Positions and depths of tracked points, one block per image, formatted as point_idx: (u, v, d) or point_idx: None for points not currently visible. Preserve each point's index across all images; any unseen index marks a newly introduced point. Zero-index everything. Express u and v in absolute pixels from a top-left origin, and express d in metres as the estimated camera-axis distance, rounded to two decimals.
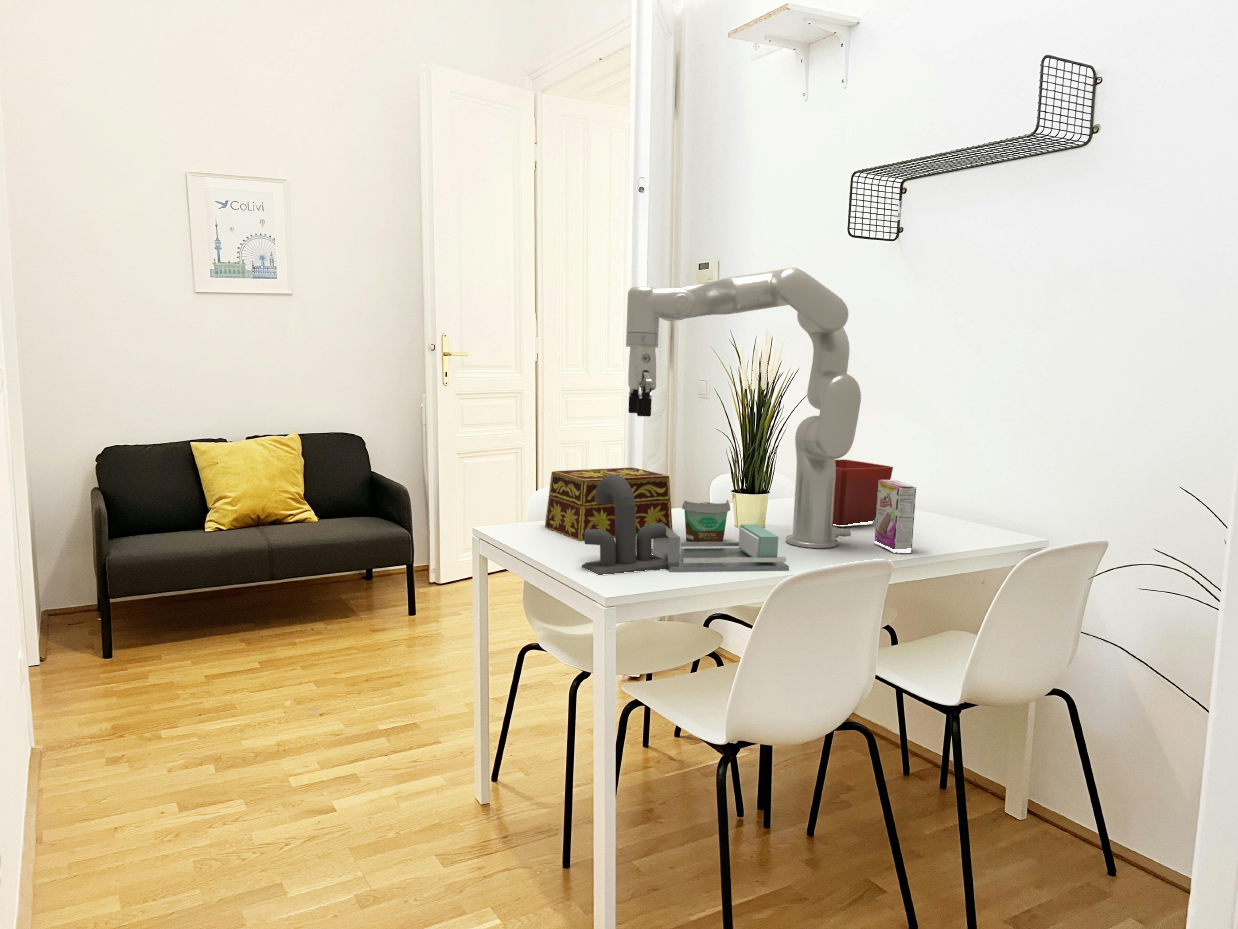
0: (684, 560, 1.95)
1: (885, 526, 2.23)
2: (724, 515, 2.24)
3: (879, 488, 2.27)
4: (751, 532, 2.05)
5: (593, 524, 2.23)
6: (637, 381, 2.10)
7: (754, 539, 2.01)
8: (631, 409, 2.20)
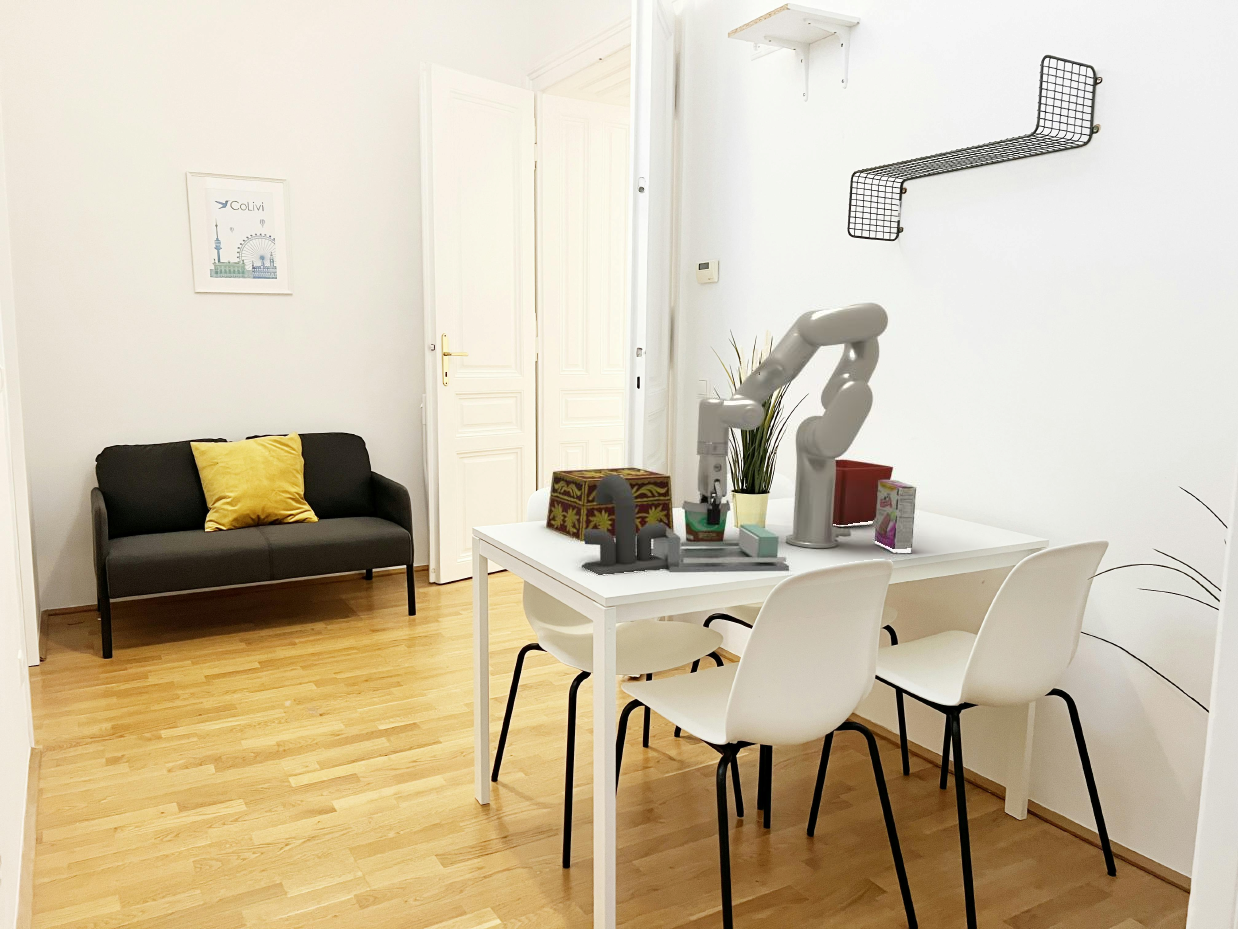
0: (684, 560, 1.95)
1: (885, 526, 2.23)
2: (724, 515, 2.24)
3: (879, 488, 2.27)
4: (751, 532, 2.05)
5: (594, 524, 2.23)
6: (709, 489, 2.19)
7: (754, 539, 2.01)
8: None
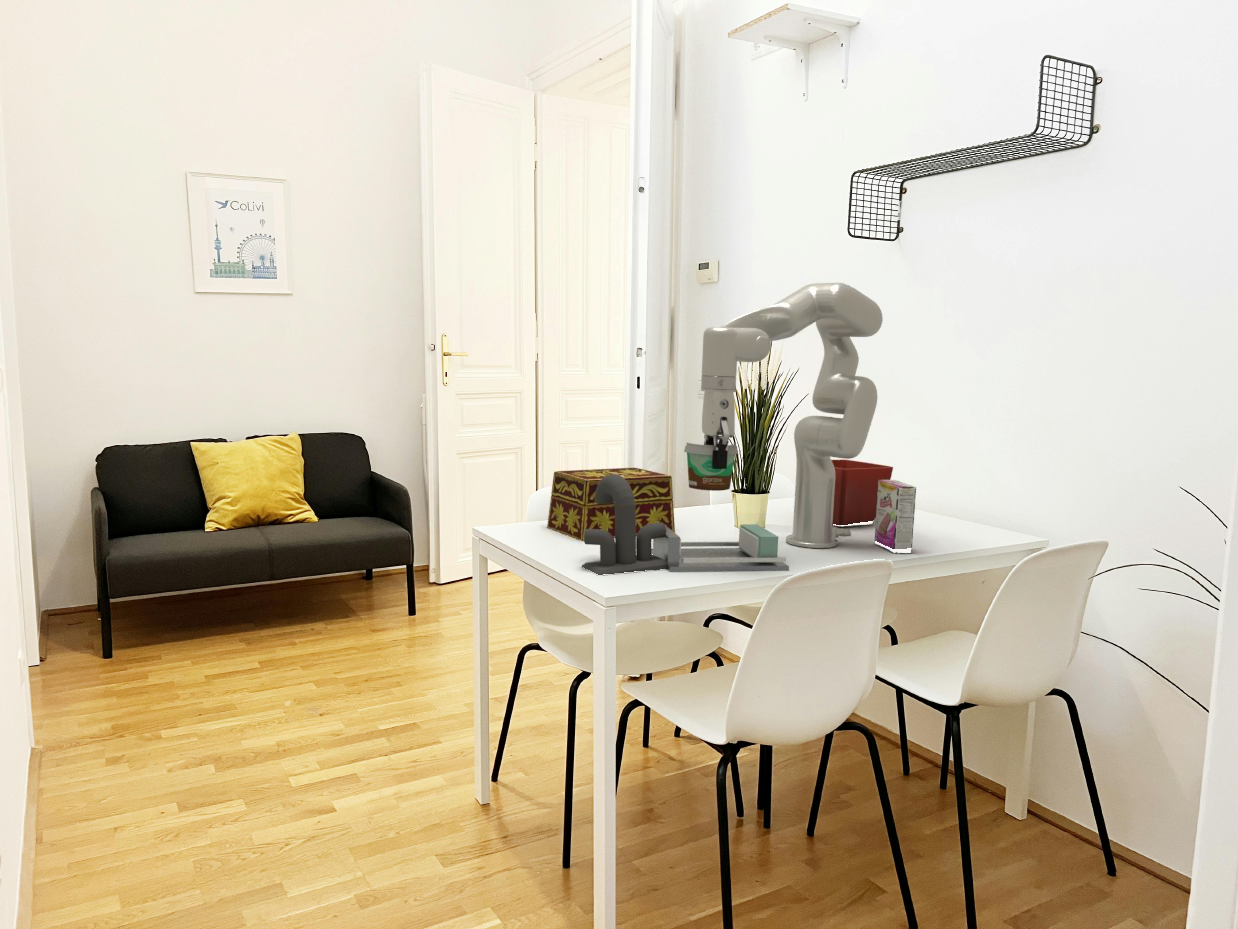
0: (684, 560, 1.95)
1: (885, 526, 2.23)
2: (731, 458, 2.02)
3: (879, 488, 2.27)
4: (751, 532, 2.05)
5: (595, 524, 2.23)
6: (715, 428, 1.96)
7: (754, 539, 2.01)
8: None
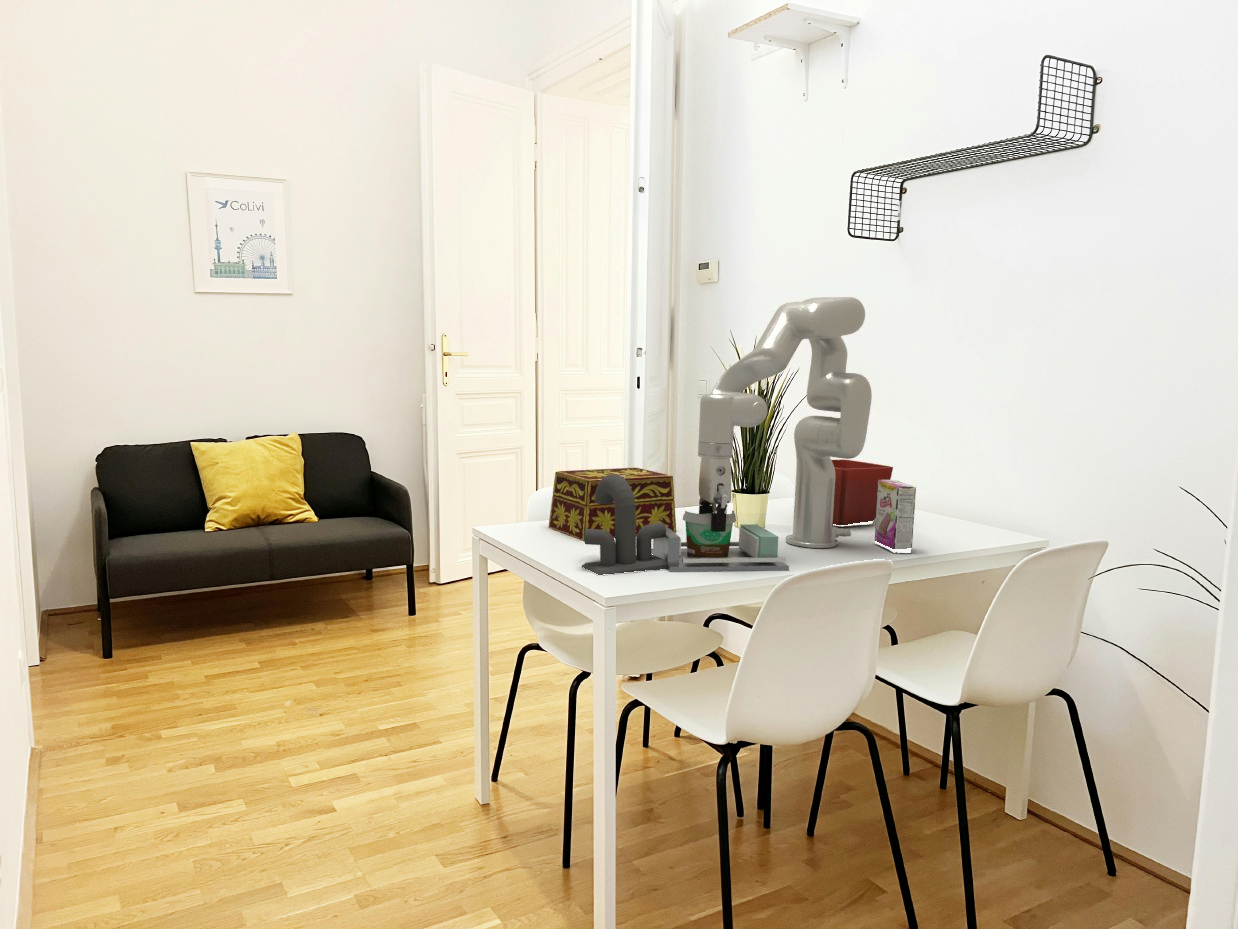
0: (684, 560, 1.95)
1: (885, 526, 2.23)
2: (729, 527, 2.03)
3: (879, 488, 2.27)
4: (751, 532, 2.05)
5: (597, 524, 2.23)
6: (711, 495, 1.98)
7: (754, 539, 2.01)
8: None
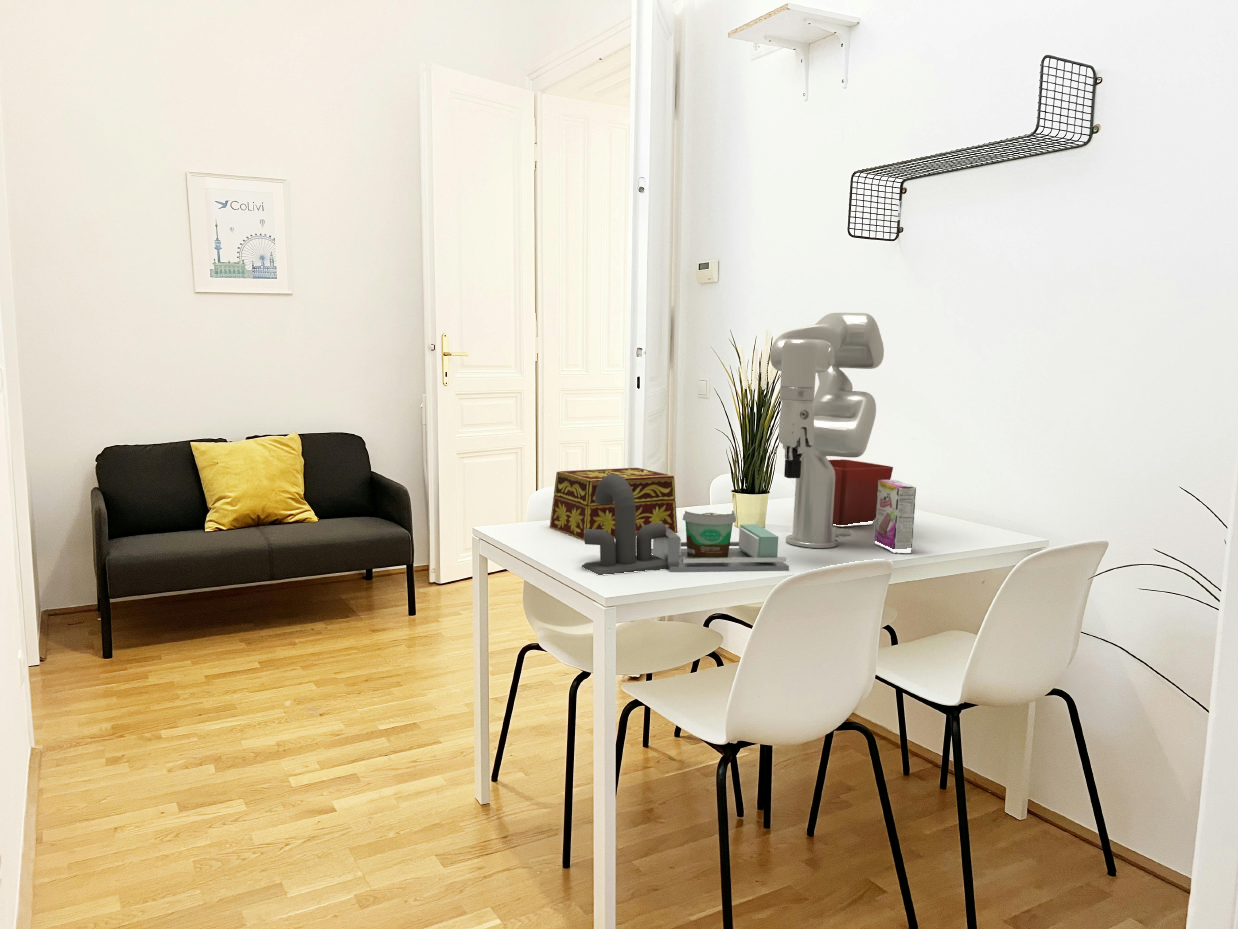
0: (684, 560, 1.95)
1: (885, 526, 2.23)
2: (729, 527, 2.03)
3: (879, 488, 2.27)
4: (751, 532, 2.05)
5: (598, 524, 2.23)
6: (795, 439, 2.00)
7: (754, 539, 2.01)
8: None
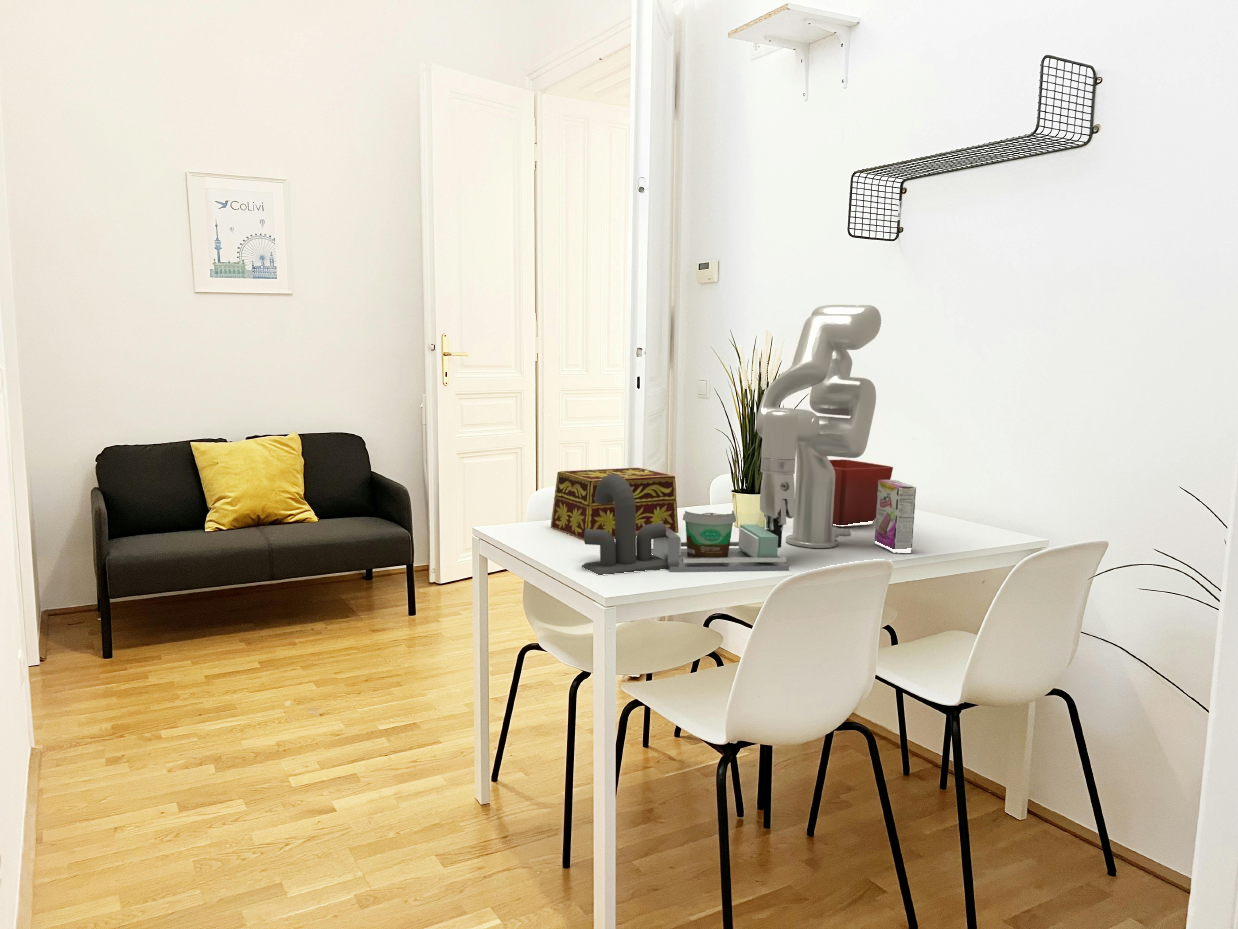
0: (684, 560, 1.95)
1: (885, 526, 2.23)
2: (729, 527, 2.03)
3: (879, 488, 2.27)
4: (751, 532, 2.05)
5: (599, 524, 2.23)
6: (775, 510, 2.01)
7: (754, 539, 2.01)
8: None
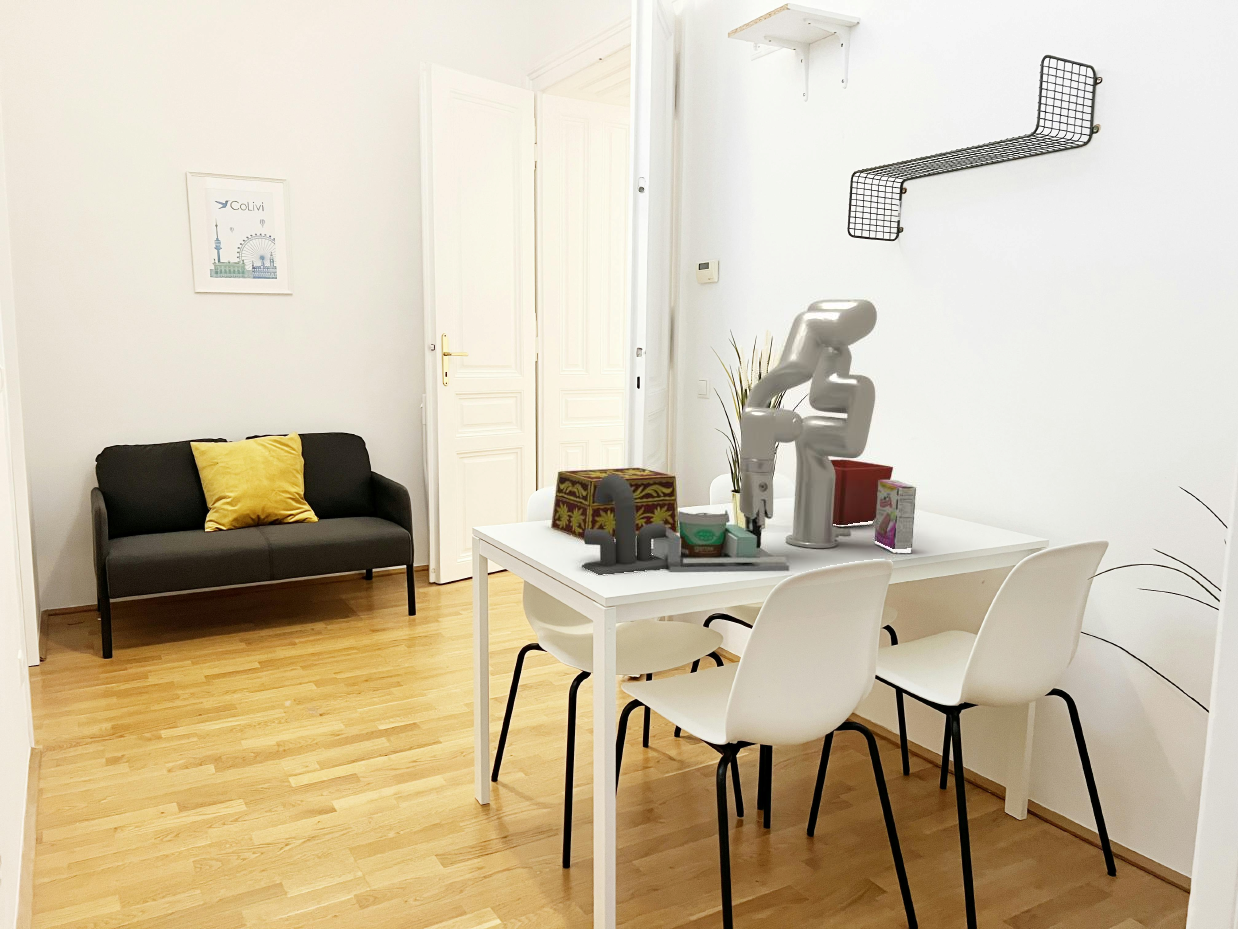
0: (684, 560, 1.95)
1: (885, 526, 2.23)
2: (722, 527, 2.03)
3: (879, 488, 2.27)
4: (730, 532, 2.04)
5: (600, 524, 2.23)
6: (754, 511, 2.00)
7: (733, 539, 2.00)
8: None
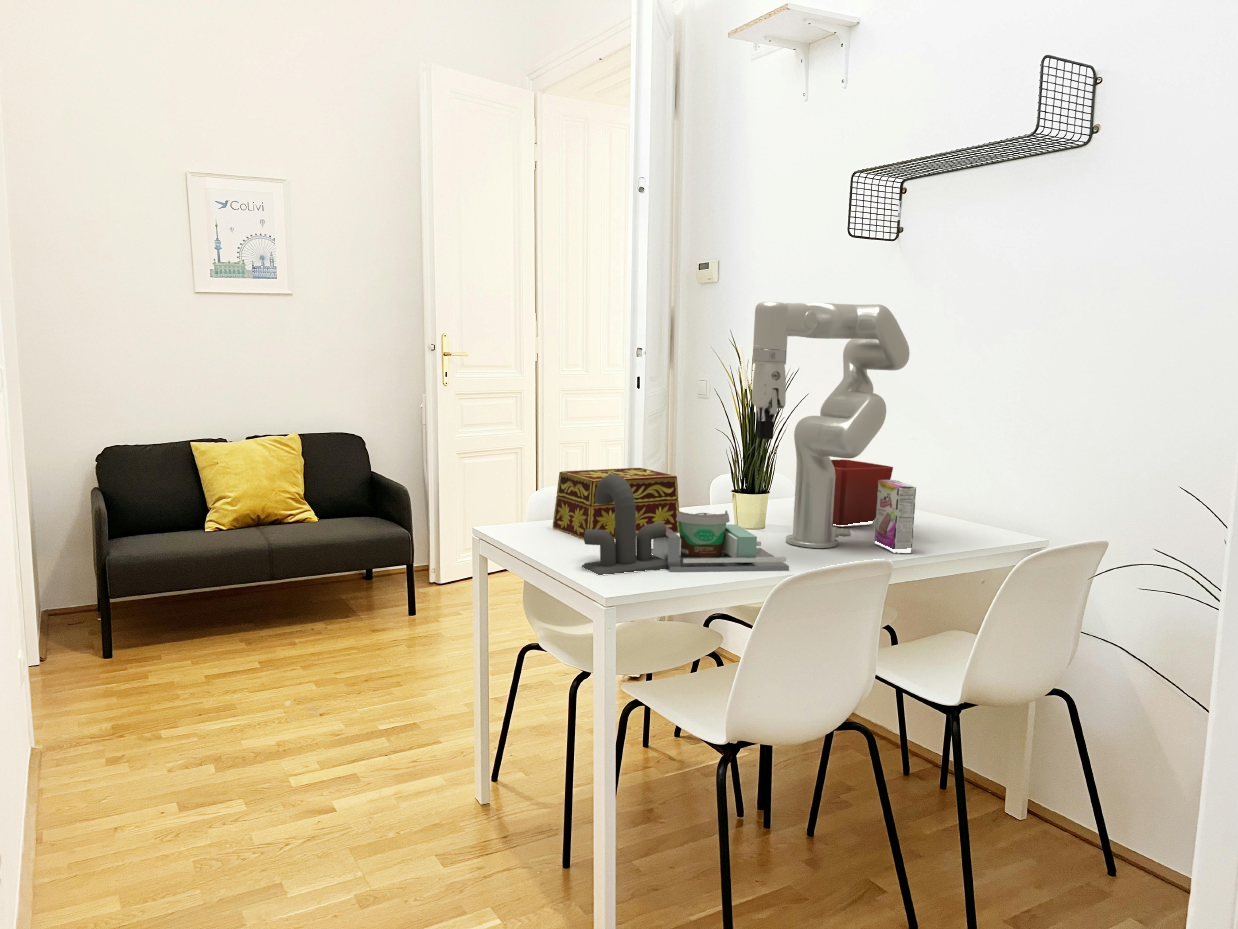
0: (684, 560, 1.95)
1: (885, 526, 2.23)
2: (722, 527, 2.03)
3: (879, 488, 2.27)
4: (730, 532, 2.04)
5: (601, 524, 2.23)
6: (767, 399, 2.04)
7: (733, 539, 2.00)
8: None
